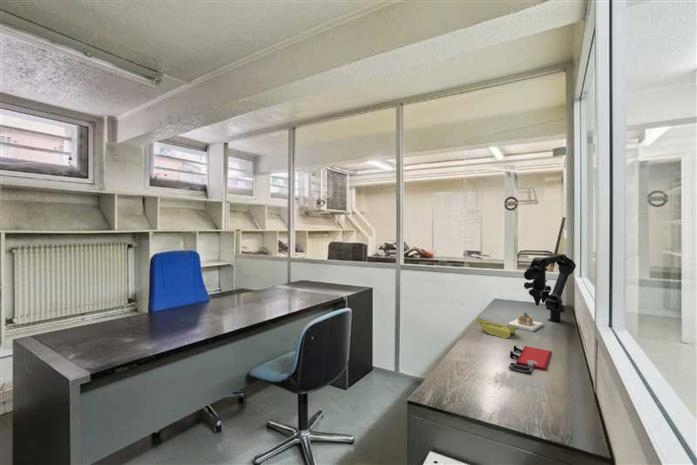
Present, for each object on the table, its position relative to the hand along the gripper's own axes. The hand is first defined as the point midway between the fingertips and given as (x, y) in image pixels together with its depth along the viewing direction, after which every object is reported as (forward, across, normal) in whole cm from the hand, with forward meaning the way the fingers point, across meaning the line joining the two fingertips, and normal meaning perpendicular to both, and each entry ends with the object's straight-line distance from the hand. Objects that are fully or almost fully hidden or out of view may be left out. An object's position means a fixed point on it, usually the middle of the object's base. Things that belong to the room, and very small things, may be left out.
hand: (540, 304), depth 201 cm
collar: (+10, +9, -5) cm, 15 cm away
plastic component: (+12, +32, -12) cm, 36 cm away
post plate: (+12, +10, -5) cm, 16 cm away
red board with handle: (+12, +57, +15) cm, 60 cm away
